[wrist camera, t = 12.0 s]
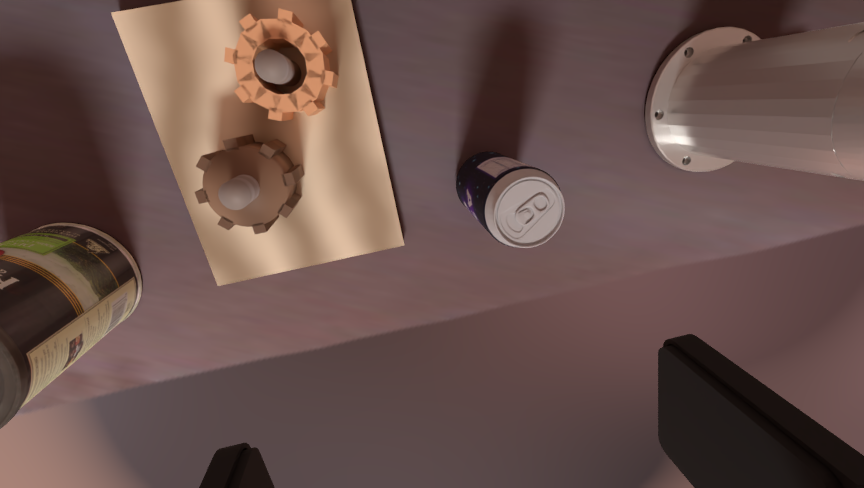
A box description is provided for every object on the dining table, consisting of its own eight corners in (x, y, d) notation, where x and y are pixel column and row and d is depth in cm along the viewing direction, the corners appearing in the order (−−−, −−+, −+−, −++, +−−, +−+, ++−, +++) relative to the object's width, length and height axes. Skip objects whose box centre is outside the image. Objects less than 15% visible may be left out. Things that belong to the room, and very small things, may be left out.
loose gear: (299, 1, 31) (288, -15, 27) (356, 86, 34) (353, 83, 30) (223, 56, 32) (201, 49, 28) (285, 136, 34) (272, 140, 30)
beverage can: (442, 177, 38) (470, 207, 27) (491, 137, 38) (542, 151, 26) (477, 223, 40) (518, 269, 29) (525, 186, 40) (585, 218, 28)
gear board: (345, -23, 32) (337, -65, 24) (403, 241, 40) (411, 275, 32) (120, 16, 31) (35, -14, 23) (222, 280, 39) (183, 326, 31)
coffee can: (-6, 223, 35) (-242, 297, 21) (129, 220, 36) (-13, 288, 23) (30, 333, 38) (-156, 457, 25) (153, 327, 39) (41, 441, 26)
